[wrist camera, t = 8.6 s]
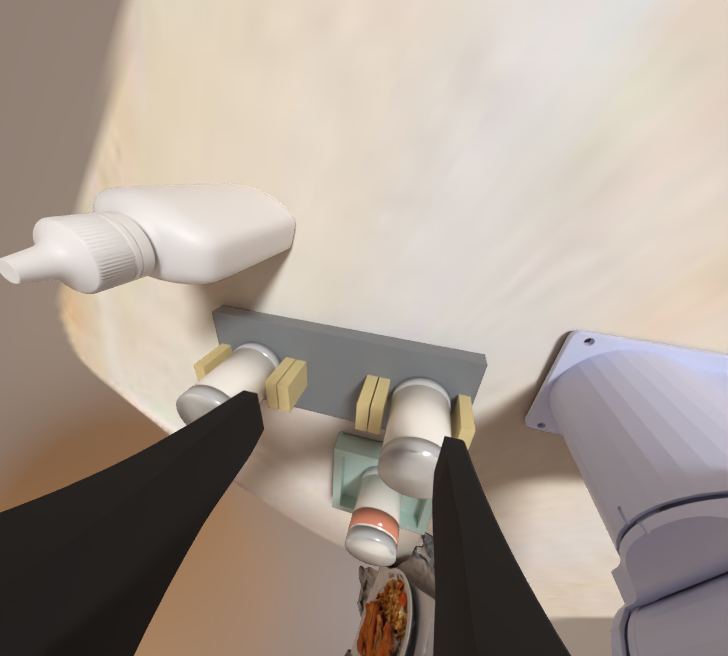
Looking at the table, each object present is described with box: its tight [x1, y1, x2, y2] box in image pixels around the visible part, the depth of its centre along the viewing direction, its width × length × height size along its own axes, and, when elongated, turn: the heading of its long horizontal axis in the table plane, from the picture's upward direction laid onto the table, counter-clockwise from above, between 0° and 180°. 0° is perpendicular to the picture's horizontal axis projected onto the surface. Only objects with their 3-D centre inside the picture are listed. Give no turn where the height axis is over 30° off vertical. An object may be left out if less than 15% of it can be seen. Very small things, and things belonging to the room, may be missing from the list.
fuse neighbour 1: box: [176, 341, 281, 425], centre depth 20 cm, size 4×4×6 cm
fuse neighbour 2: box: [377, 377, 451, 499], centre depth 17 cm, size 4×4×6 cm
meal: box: [345, 533, 435, 656], centre depth 29 cm, size 15×4×13 cm, turn 147°
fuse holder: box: [194, 305, 487, 450], centre depth 20 cm, size 20×8×4 cm, turn 86°
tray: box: [332, 432, 432, 535], centre depth 26 cm, size 10×10×2 cm
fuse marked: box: [345, 466, 403, 566], centre depth 24 cm, size 4×4×6 cm
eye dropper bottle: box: [0, 184, 296, 294], centre depth 13 cm, size 4×6×12 cm
